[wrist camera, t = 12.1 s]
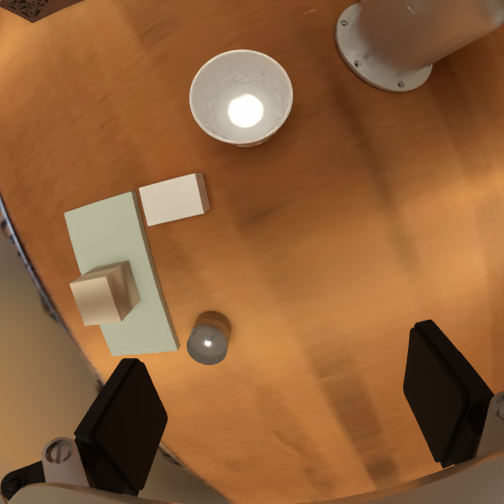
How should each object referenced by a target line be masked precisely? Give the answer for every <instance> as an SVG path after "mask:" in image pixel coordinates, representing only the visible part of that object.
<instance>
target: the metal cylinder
mask: <svg viewBox="0 0 504 504" xmlns="http://www.w3.org/2000/svg"><path fill="white" fill-rule="evenodd" d="M230 332H231V325H230V322H229V320H228V319H227V318H226V317H225V316H224V315H223V314H221V313H219V312H215V311H208V312H204V313H202V314H201V315H200V316H199V317H198V318H197V320H196V322H195V325H194V327H193V330H192V332H191V334H190V337H189V339H188V342H187V350H188V353H189V355H190V356H191V357H192V358H193V359H194V360H195V361H197V362H199V363H201V364H205V365H213V364H217V363H219V362H221V361H222V360H223V359H224V358H225V356H226V353H227V348H228V342H229V337H230Z"/></svg>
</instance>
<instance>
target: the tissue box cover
mask: <svg viewBox="0 0 504 504" xmlns="http://www.w3.org/2000/svg"><path fill="white" fill-rule="evenodd" d="M81 1H83V0H0V7H2V8H4V9H6V10H8V11H10V12H12V13H14V14H16V15H18V16H20V17H22V18H24V19H26V20H28V21H30V22H32V23H34V22H36V21H38V20H40V19H42V18H44V17H46V16H48V15H50V14H53V13H55V12H57V11H59V10H61V9H64V8H66V7H68V6H71V5H73V4H76V3H78V2H81Z"/></svg>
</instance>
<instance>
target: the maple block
mask: <svg viewBox="0 0 504 504" xmlns="http://www.w3.org/2000/svg"><path fill="white" fill-rule="evenodd" d="M70 286H71V289H72V292H73V295H74V298H75V301H76V303H77V306H78V309H79V311H80V314H81V317H82V319H83V322H84V324H85V326H88V325H98V324H108V323H117V322H122V321H123V320H124V318H125V317H126V316H127V315H128V314H129V313H130V312H131V310H132V309H133V308H134V307H135V306H136V305H137V304H138V303H139V301H140V300H141V298H140V295H139V292H138V289H137V285H136V282H135V279H134V276H133V272H132V269H131V265H130V262H129V260H127V261H122V262H117V263H112V264H108V265H103V266H98V267H95V268H93V269H91V270H90V271H88V272H87V273H85V274H84V275H82V276H80V277H79V278H77V279H76V280H74V281H73V282H71V283H70Z"/></svg>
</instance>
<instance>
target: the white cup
mask: <svg viewBox="0 0 504 504" xmlns="http://www.w3.org/2000/svg"><path fill="white" fill-rule="evenodd" d="M189 101H190V108H191V111H192V114H193V116H194V118H195V120H196V122H197V123H198V124H199V126H200V127H201V128H202V129H203V130H204V131H205V132H206V133H208V134H209V135H211V136H212V137H214V138H216V139H218V140H221V141H223V142H225V143H228V144H230V145H234V146H239V147H253V146H256V145H259V144H261V143H264V142H265V141H267V140H268V139H269V138H271V137H272V136H273V135H274V134H275V133H276V132H277V131H278V129H279V128H280V127H281V125H282V124H283V123H284V122H285V120H286V119H287V117H288V115H289V113H290V110H291V107H292V102H293V90H292V85H291V81H290V79H289V77H288V75H287V73H286V71H285V70H284V69H283V68H282V66H281V65H280V64H279V63H278V62H276V61H275V60H274V59H272V58H271V57H269V56H267V55H265V54H263V53H260V52H257V51H252V50H233V51H228V52H225V53H222V54H219V55H217V56H215V57H214V58H212V59H211V60H209V61H208V62H207V63H205V64H204V65H203V66H202V67H201V69H200V70H199V71H198V73H197V74H196V76H195V78H194V80H193V82H192V85H191V88H190V95H189Z"/></svg>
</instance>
